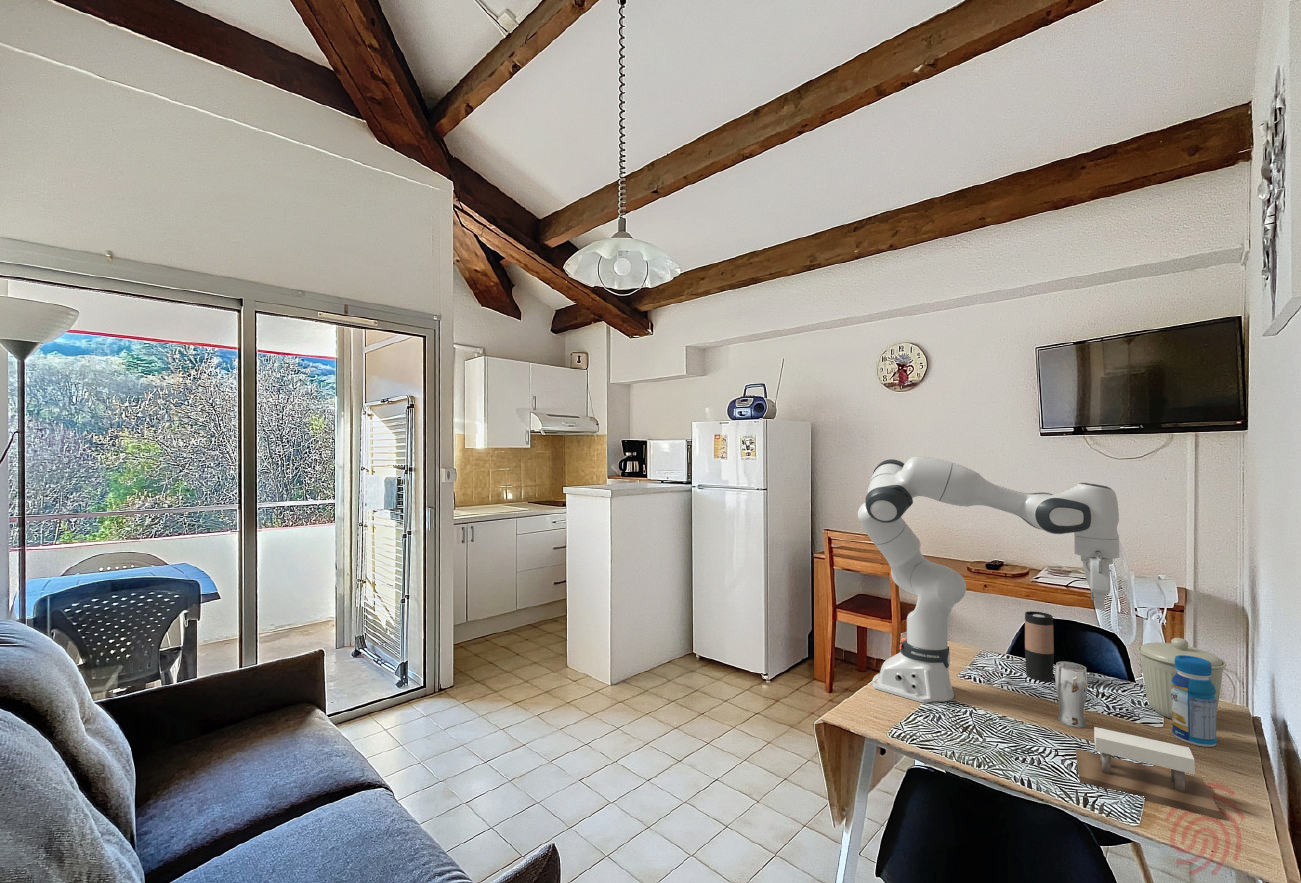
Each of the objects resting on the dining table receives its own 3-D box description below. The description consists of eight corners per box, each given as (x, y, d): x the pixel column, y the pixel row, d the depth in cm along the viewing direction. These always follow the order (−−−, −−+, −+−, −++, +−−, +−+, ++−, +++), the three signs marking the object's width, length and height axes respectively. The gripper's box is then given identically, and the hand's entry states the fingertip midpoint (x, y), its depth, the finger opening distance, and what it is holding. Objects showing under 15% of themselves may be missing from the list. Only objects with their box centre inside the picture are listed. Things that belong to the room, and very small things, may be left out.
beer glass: (1093, 730, 149) (1093, 671, 149) (1063, 727, 150) (1062, 669, 151) (1079, 718, 156) (1078, 662, 156) (1050, 715, 157) (1050, 660, 158)
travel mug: (1019, 673, 188) (1018, 611, 188) (1041, 672, 189) (1040, 610, 189) (1037, 682, 180) (1037, 618, 181) (1060, 681, 181) (1059, 617, 181)
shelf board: (1194, 774, 118) (1194, 759, 118) (1095, 751, 127) (1095, 737, 127) (1189, 761, 122) (1188, 747, 123) (1094, 740, 132) (1094, 726, 132)
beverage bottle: (1211, 751, 138) (1210, 667, 139) (1166, 737, 146) (1164, 657, 146) (1222, 742, 143) (1221, 661, 143) (1178, 728, 150) (1176, 651, 150)
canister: (1244, 726, 151) (1243, 645, 152) (1197, 735, 146) (1196, 652, 147) (1166, 698, 169) (1165, 626, 169) (1121, 706, 164) (1120, 631, 164)
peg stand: (1079, 783, 125) (1079, 755, 125) (1076, 755, 137) (1075, 729, 137) (1219, 819, 113) (1219, 788, 113) (1202, 785, 124) (1202, 757, 124)
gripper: (1117, 555, 133) (1118, 616, 132) (1108, 544, 150) (1109, 598, 149) (1083, 553, 136) (1084, 612, 136) (1078, 542, 153) (1078, 594, 153)
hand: (1097, 604), depth 143 cm, fingers open, 8 cm apart
